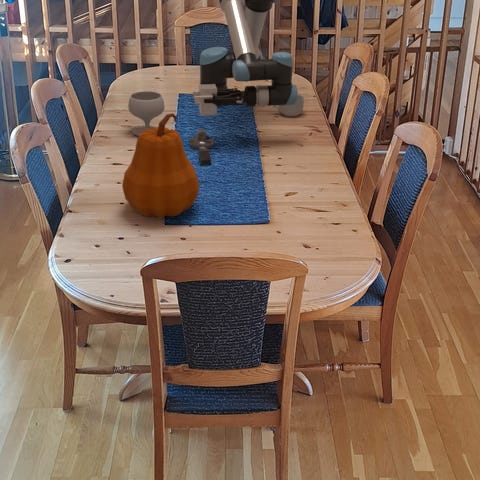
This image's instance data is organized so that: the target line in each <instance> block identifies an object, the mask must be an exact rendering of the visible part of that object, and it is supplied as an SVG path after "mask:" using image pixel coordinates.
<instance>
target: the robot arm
mask: <svg viewBox="0 0 480 480" xmlns="http://www.w3.org/2000/svg"><path fill="white" fill-rule="evenodd" d="M218 1H219V6H220V9H221V11H222V12H224V17H225V20H226V24H227V28H228V32H229V37H230V40H231V45H232V48H233V50H228V48H226V47H224V46H215V47H209V48H206V49H204V50H202V51H201V53H200V55H199V56H200V57H199V70H200V71H199V85H204V84H215V85H216V88H217V97H215V95H213V96H199V90H193V91H192V99H193V100H194V105H199V104H215V106H220V107H223V106H222V105H225V106H242V105H243V103H244V104H245V107H255V106H257V107H261V108H264V107H265V106H266V107H269V106H272V107H273V106H278V107H279V106H281V105H284V106H285V105H294V104H295V103H296V102H297V98H298V94H299V93H298V87H297V85H296V84H293V83H292V82H293V68H294V65H293V64H294V63H293V55H292V54H291V53H290V52H286V51H277V52H274V53H272V56H271V58H264V57H263V53H262V51H261V50H260V47H259V45H260V41H261V37H262V34H263V33H262V32H263V30H264V26H265V25H264V24H265V21H266V17H267V13H268V12H270V11H271V9H272V8H273V5H274V4H277V3H279V2H280V0H218ZM228 79H233V80H234V81H235V82H246V83H249V82H254V81H256V82H257V81H271V85H267V84H266V85H265V84H264V85H262V84H261V85H260V84H259V85H256V86H255V85H245V86H244V90H240V89H238V88H237V87H236V88H235V87H233V88H229V87H228V85H227V83H228Z"/></svg>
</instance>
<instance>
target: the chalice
mask: <svg viewBox="0 0 480 480" xmlns="http://www.w3.org/2000/svg"><path fill="white" fill-rule="evenodd" d="M127 104H128V107H127V108H128V111H129V112H130V114H131V115H132V116H134V117H136V118H138V119H140V120H142V121H143V122H144V126H139V127H135V128H134V129H132V130H131V133H132V135H134V136H137V137H139V135H140V134H142V132H143V131H144V130H147V129H150V130H152V129H153V128H155V127H156V126H152V125H150V123H151V122H152V120H153V119H155V118H157V117H159V116H161V115H162V114H163V113H164V111H165V102H164V97H163V96H162V94H160V93H159V92H155V91H137V92H134V93H132V94H131V95H130V97H129V99H128V103H127Z"/></svg>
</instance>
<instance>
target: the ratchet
mask: <svg viewBox="0 0 480 480" xmlns="http://www.w3.org/2000/svg"><path fill="white" fill-rule="evenodd" d="M214 139H215V138H213V137H211V136H207V131H206V129H197V135H196V136H192V137H191V138H189V147H190V148H191V149H192V148H193V150H195V149H197V150H196V151H198V150H199V151H198V159H200V160H199V164H201V165H200V166H212V158H211V153H210V151H209V150H212V149H213V148H214V146H215V142H214V141H215V140H214Z"/></svg>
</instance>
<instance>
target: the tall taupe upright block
mask: <svg viewBox="0 0 480 480" xmlns="http://www.w3.org/2000/svg"><path fill="white" fill-rule="evenodd" d="M198 91H199V96H213V95H215V97H217V88H216V85H215V84H204V85H200V84H199V85H198ZM198 106H199V107H198V108H199V115H200V116H204V117H205V116H218V107H217V106H215V104H198Z"/></svg>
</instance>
